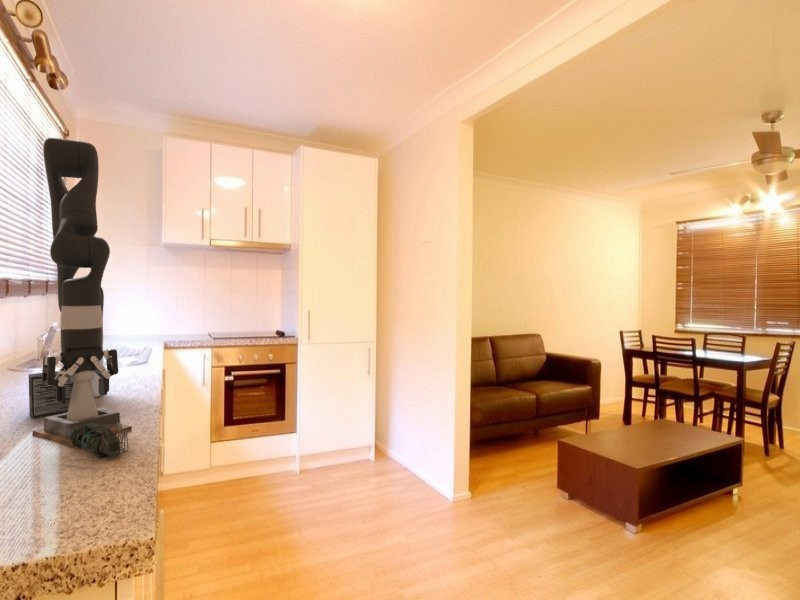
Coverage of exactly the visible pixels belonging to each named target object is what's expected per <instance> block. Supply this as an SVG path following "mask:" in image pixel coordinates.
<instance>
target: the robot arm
mask: <svg viewBox="0 0 800 600" xmlns="http://www.w3.org/2000/svg"><path fill="white" fill-rule="evenodd" d="M42 153H43V154H42V155H43V161H44V169H45V174H46V180H47V185H48V191H49V196H50V197H49V198H50V207H51V208H50V209H51V210H50V211H51V225H52V226H51V227H52V228H51V229H52V238H53V240H52V242H51V246H50V251H49V253H50V258H51V259H52V261H53V262H54V264H56V269H57V271H56V272H57V273H56V274H57V303H58V308H59V311H60V350H61V351H60V352H61V353H60V354H59V355H44V356H43V357H42V369H41V370H42V372H41V373H42V383H43V384H47V385H52V386H53V399H54V401H56V402H57V403H58V404H63V403H65V386H63V385H64V384H65V382H66V381H67V380H68V378H70V377H71V376H72V375H73V374H74V373H79V372H81V371H87V370H90V371H93V374H94V377H93V379H92V380H90V381H91V385H92V390H93V394H94V398H97V397H101V396H107V395H108V392H110V378H112V376H114V375H115V376H116V375H118V374H119V363H118V361H119V359H118V350H117V349H115V348H106V349H105V350H104V330H103V329H104V327H103V326H104V325H103V324H104V319H103V318H104V306H105V305H104V303H105V302H104V300H105V297H104V296H105V295H104V289H103V287H102V281H103V277H104V272H105V270H106V267H107V264H108V262H109V258H110V254H111V248H110V246H109V243H108V242H107V240H105V239H104V238H102V237H99V236H96V234H97V233H98V229H99V228H98V219H97V218H98V214H97V195H98V188H99V187H98V186H99V174H100V173H99V167H100V166H99V164H100V163H99V155H98V151H97V149H96V147H95V146H94V144H92V143H90V142H87V141H82V140H76V139H75V140H73V139H65V138H58V137H57V138H56V137H47V138H46V139H45V140H44V142H43V147H42ZM63 178H72V179H80V180H79V181H78V182H77V183H76V184H75V185H74V186H73V187H71V189H69V190H68V188H67V187H66V184H65V181H64V179H63ZM81 268H82V269H88V268H89V269H90V271H89V273H87V275H84V276H81V277H75V275H76V273H77V272H78V270H79V269H81ZM74 277H75V278H74ZM104 359H105V362H106V367H105V366H104ZM59 363H61V364H62V366H61V368H60V369H59V370H58V374H57V376H56V377H55V371H56V366H57V365H58V364H59Z"/></svg>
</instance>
